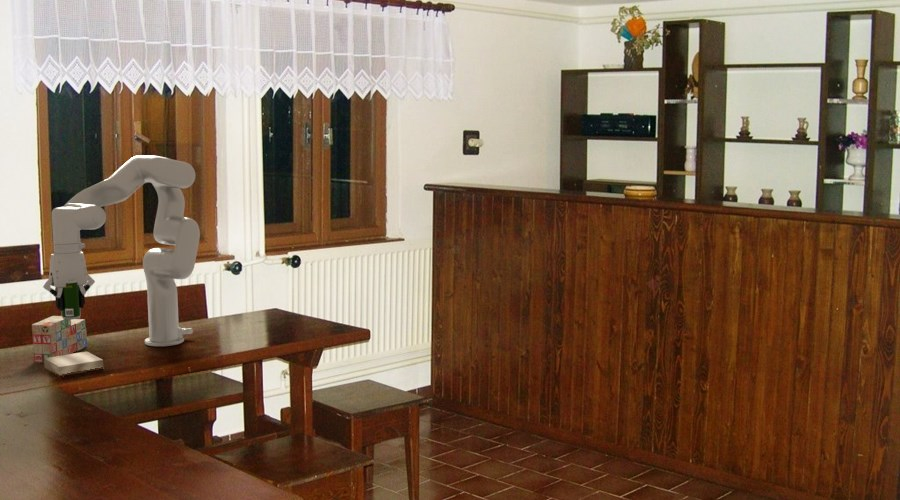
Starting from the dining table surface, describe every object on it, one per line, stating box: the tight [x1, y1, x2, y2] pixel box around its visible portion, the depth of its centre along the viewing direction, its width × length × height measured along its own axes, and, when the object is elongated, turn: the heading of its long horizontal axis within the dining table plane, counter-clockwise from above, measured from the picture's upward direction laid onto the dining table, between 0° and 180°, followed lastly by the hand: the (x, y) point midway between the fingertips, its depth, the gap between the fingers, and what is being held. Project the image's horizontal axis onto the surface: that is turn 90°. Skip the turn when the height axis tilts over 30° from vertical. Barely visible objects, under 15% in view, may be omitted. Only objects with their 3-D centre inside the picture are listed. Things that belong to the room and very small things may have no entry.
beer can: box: [60, 279, 82, 320], centre depth 311 cm, size 5×5×12 cm
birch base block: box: [44, 351, 104, 375], centre depth 314 cm, size 13×13×3 cm
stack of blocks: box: [31, 315, 88, 364], centre depth 331 cm, size 21×6×12 cm, turn 170°
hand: (70, 308), depth 312 cm, fingers closed on beer can, 5 cm apart
